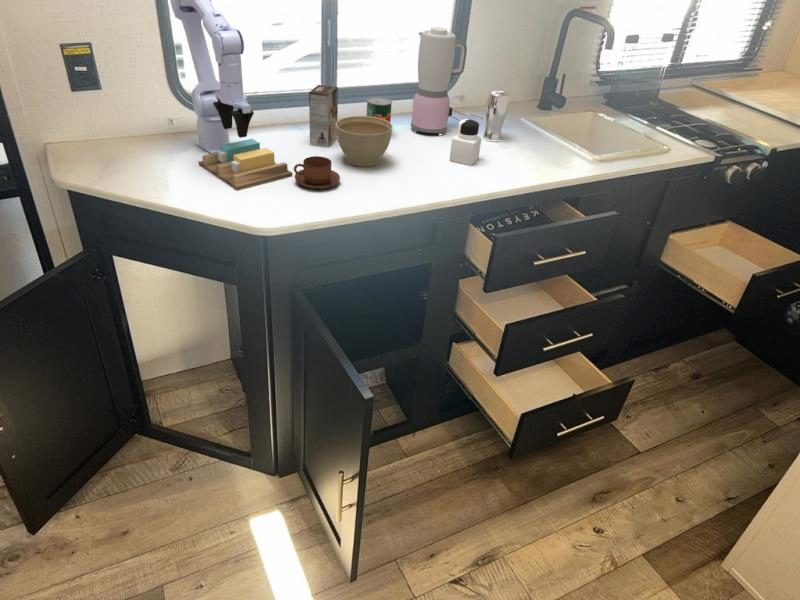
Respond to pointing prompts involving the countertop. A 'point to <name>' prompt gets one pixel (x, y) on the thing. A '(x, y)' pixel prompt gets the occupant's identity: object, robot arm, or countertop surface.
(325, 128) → the coffee box
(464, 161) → the medicine bottle
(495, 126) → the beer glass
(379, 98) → the canned tomato
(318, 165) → the cup and saucer
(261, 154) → the ochre plug block
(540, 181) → the countertop surface
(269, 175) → the comb board
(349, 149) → the planter bowl
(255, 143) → the teal plug block
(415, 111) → the blender
